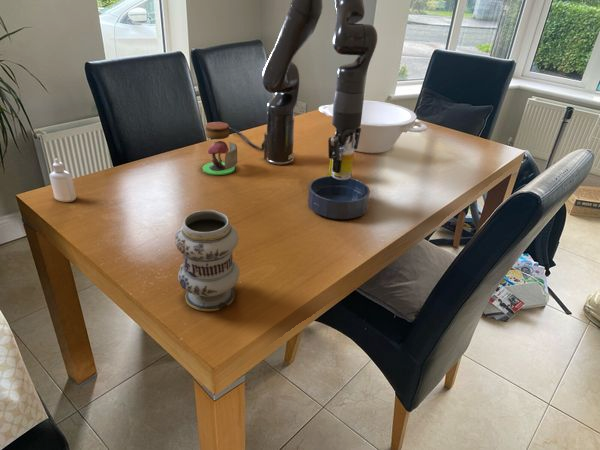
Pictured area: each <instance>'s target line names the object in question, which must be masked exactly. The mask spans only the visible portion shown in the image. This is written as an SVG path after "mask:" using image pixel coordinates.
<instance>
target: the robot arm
mask: <svg viewBox="0 0 600 450" xmlns="http://www.w3.org/2000/svg"><path fill="white" fill-rule="evenodd" d="M333 3H334V11H335V25H334V31H333V36H332V47H333V49H334V51H335V52H336V53H337V54H338V55H341V56H357V57H356V59H354V61H352V62H350V63H346V64H343V65H340V66H339V67H338V69H337V72H336V73H337V74H336V84H335V85H336V86H335V93H334V97H333V103H334V107H333V117H332V121H331V122H332V123H331V124H332V126H333V127H335V132H334V136H333V137H328V139H327V140H328V141H327V143H328V147H327V148H328V149H327V150H328V151H327V152H328V159H329V160H330V159H333V167H332V171H333V172H336V173H339V172H340V171H341V162H342V160H341V159H342V156H343V153H344V152H345V151H346V148H347V145H348V143H349V142H350V141H351V142H352V148H353V150H354V149H357V147H358V142H359V137H360V132H361V128H359V127H360V126H361V118H362V109H363V101H364V100H365V99H364V97H365V96H364V93H365V91H364V90H365V85H366V84H365V83H366V76H367V72H368V70H369V67H370V64H371V60H372V58H373V56H374V53H375V50H376V48H377V44H378V31H377V29H376V27H375V26H374V25H373V24H371V23H360V22H361V21H362V20H363V19H364V17H365V13H366V9H365V4H364V0H333ZM323 8H324V3H323V0H291V1H290V4H289V6H288V9H287V11H286V14H285V18H284V21H283V24H282V27H281V29H280V32H279V35H278V37H277V40H276V43H275V45H274V47H273V49H272V51H271V54H270V55H269V58H268V60H267V62H266V63H265V66H264V68H263V71H262V76H261V77H262V84H263V88H264V89H265V90H266V91H267V92H268V93H271V94H274V95H273V97H272V98H271V99H270V100H269V101H268V103H267V105H266V132H264V133H263V134H264V135H263V137H264V139H263V141H262V143H261V147H259V146H258V145H255V144H253V142H251V141H249V139H248V138H247V137H246V136H245V135H244V134H243V133H242V132H240V131H238V130H236V129H235V128H233V127H229V131H233V132H234V133H235V134H237V135H239V136H240V137H241V138H242V139H243V140H244V141H245V142H246V143H247V144H248V145H249V146H251V147H253V149H257V150H260V151H263V160H266V162H268V163H269V164H272V165H276V166H277V165H278V166H284V165H288V164H292V163H293V161H294V157H295V153H294V140H295V139H294V136H295V135H294V134H295V116H296V115H295V114H296V113H295V112H296V107H297V105H298V100H299V92H300V71H299V68H298V66H297V65H296V63H294V62H293V59H294V58H295V56H296V55H297V53H299V51H300V50H301V49H302V47H303V46H304V45H305V44H306V43H307V42H308V41H309V39H310V38H311V36H312V35H313V34H314V32H315V30H316V27H317V25H318V24H319V21H320V18H321V16H322V14H323ZM339 146H340V147H343V148H339ZM339 151H340V154H339ZM332 152H333V154H332Z"/></svg>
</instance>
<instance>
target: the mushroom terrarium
mask: <svg viewBox="0 0 600 450" xmlns="http://www.w3.org/2000/svg"><path fill="white" fill-rule="evenodd" d="M229 128H230V125H229V123H226V122H222V121H212V122H207V123H206V124H205V137H206V138H208V139H210V140H211V139H212V140H217V141H214V142H213V144H212V145H210V146H209V147H208V149H207V151H206V153H207V154H209V155H211V160H210V162H207V163H205V164H204V165H203V166H202V171H203V173H205V174H207V175H210V176H226V175H230V174H232V173H234V172H235V170H236V165H237V164H238V145H237V144H236V143H235V142H230V141H229V142H228V145H227V143H226V142H225V141H224V140H225V139H228V138H229V137H230V130H229ZM228 146H229V147H228ZM221 154H225V156H224V161H223V159H222V157H221ZM216 155H217V157H218V158H217V157H216Z"/></svg>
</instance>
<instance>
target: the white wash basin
mask: <svg viewBox="0 0 600 450" xmlns="http://www.w3.org/2000/svg"><path fill="white" fill-rule="evenodd" d="M333 107H334V102H333V103H331V104H325V105H321V106H319V107H318V111H319V112H320V113H321V114H325V115H326V117H332V118H333ZM417 118H418V117H417V114H416V113H415V112H414V111H413V110H410V109H409V108H407V107H404V106H401V105H398V104H394V103H390V102H384V101H377V100H365V99H364V101H363V109H362V118H361V126H360V127H359V128H361V132H360V137H359V142H358V147H357V149H354V152H357V153H363V154H382V153H386V152H388V151H390V150H392V148H393V146H395V143H396V142H397V140H398V139H399V138H400V136H401V135H402V134H403V133H405V134H406V133H408V132H409V133H423V132H426V131H427V130H428V126H427V124H426V123H423V122H420V121H417Z"/></svg>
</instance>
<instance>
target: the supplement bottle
mask: <svg viewBox="0 0 600 450" xmlns="http://www.w3.org/2000/svg"><path fill="white" fill-rule="evenodd" d="M339 148H343V147H340V146H339ZM354 153H355V151H354V150H353V148H352V142H351V141H350V142H349V143H348V145H347V148H346V151H345V152H344V153H343V156H342V159H341V160H342V162H341V171H340V172H339V173H336V172H333V171H332V174H331V175H332V177H333V178H335V179H338V180H347V179H349V178H352V172H353V165H354ZM339 154H340V151H339ZM332 167H333V161H332Z"/></svg>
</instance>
